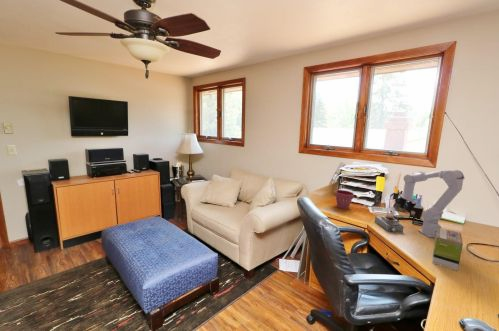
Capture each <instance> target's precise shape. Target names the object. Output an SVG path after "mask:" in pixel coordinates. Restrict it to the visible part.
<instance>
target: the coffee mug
mask: <svg viewBox="0 0 499 331" xmlns="http://www.w3.org/2000/svg"><path fill="white" fill-rule="evenodd" d="M404 208H405V210H406V211H407V204H405V206H404ZM424 209H425V207H424V206H422V205H419V204H416V205H415V206H414V207H413V209H412V211H411V212H408V213H409V218H410V217H413V218H417V219H420V220H421V217H422V213H423V212H424Z"/></svg>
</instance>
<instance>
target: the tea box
mask: <svg viewBox="0 0 499 331" xmlns="http://www.w3.org/2000/svg"><path fill="white" fill-rule="evenodd" d="M463 245H464V243H463V237H462V233H461V232H459V231H455V230H450V229H447V228H442V227H441V228H437V232H436V238H435V237H434V244H433V252H432V253H433V254H432V262H431V263H432V264H434V263H435V264H434V265H437V264H438V265H437V266H440V265H441V267H443V266H444V268H446V267H448V268H447V269H449V268H451V270H453V269H454V271H456V270H457V271H458V270H459V267H460V266H459V265H460V261H461V256H462V255H461V254H462V251H463ZM457 271H456V272H457Z"/></svg>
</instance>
